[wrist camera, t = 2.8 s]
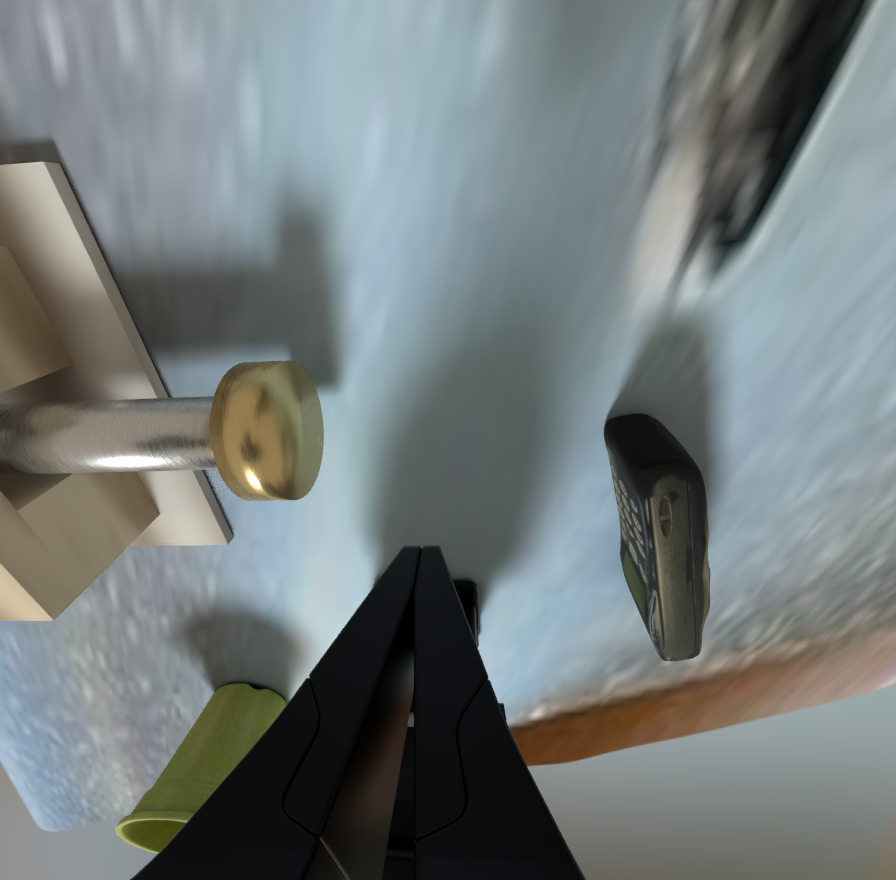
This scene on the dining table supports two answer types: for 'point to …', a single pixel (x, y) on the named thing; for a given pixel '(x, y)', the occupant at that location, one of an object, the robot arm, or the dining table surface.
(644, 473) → the mobile phone
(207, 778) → the plant pot
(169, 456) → the door knob
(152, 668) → the dining table surface
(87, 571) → the block
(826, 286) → the dining table surface
